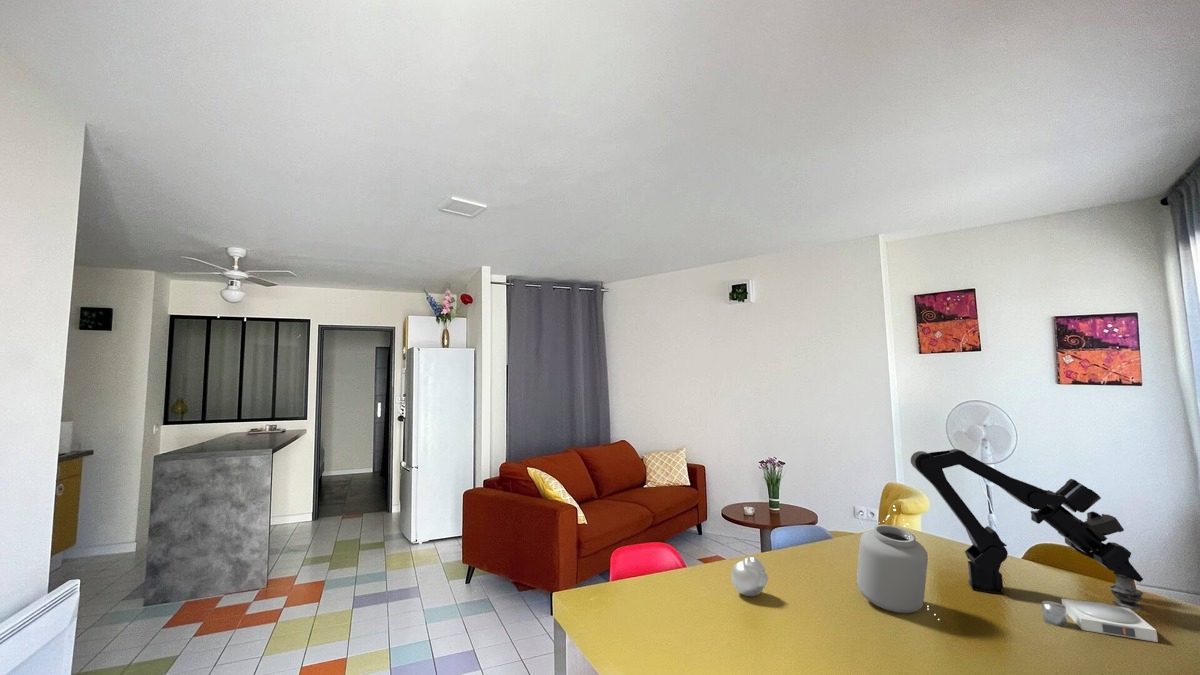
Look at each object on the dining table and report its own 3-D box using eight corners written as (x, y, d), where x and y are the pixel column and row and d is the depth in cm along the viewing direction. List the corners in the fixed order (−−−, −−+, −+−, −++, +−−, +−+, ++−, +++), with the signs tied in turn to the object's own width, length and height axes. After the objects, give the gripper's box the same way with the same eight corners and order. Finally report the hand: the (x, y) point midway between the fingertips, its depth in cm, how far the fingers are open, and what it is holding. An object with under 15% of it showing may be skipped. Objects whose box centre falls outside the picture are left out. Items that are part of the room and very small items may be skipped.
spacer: (1047, 624, 112) (1045, 606, 112) (1041, 617, 115) (1039, 599, 116) (1070, 628, 110) (1068, 609, 111) (1063, 620, 114) (1061, 602, 114)
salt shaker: (1152, 611, 118) (1145, 559, 119) (1123, 609, 119) (1117, 558, 121) (1131, 601, 124) (1125, 551, 125) (1104, 599, 125) (1098, 550, 126)
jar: (955, 621, 114) (945, 511, 117) (900, 627, 111) (892, 514, 114) (893, 589, 132) (886, 495, 135) (845, 594, 129) (838, 497, 132)
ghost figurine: (748, 605, 123) (747, 564, 125) (725, 591, 132) (723, 553, 133) (776, 599, 127) (774, 559, 128) (751, 586, 136) (749, 548, 137)
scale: (1083, 631, 109) (1081, 616, 109) (1062, 608, 120) (1061, 596, 120) (1159, 643, 103) (1157, 628, 103) (1130, 618, 114) (1128, 605, 114)
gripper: (1114, 512, 117) (1184, 565, 112) (1073, 496, 134) (1132, 542, 129) (1076, 542, 119) (1143, 596, 114) (1041, 523, 136) (1098, 569, 131)
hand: (1129, 574), depth 122 cm, fingers open, 9 cm apart
